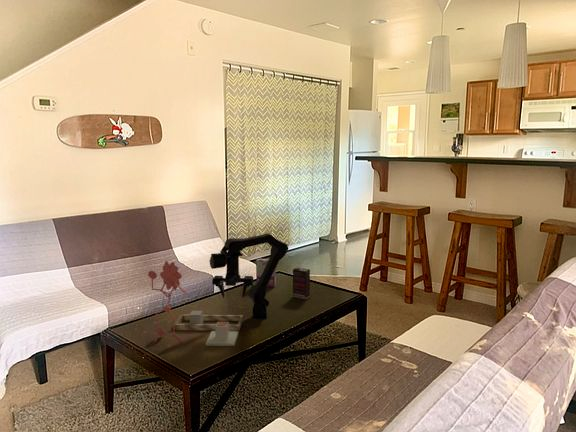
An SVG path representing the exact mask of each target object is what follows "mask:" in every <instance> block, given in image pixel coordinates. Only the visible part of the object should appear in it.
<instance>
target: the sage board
mask: <svg viewBox="0 0 576 432" xmlns="http://www.w3.org/2000/svg"><path fill="white" fill-rule="evenodd" d="M238 336H239V331H229V337H228V339H227V340H216V335H215V330H211V332H210V334H209V336H208V338H207V340H206V342H205V346H207V347H208V346H210V347H211V346H214V347H215V346H217V347H218V346H220V347H221V346H222V347H234V346H235V345H236V343H237V339H238Z"/></svg>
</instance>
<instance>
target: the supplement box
mask: <svg viewBox="0 0 576 432" xmlns="http://www.w3.org/2000/svg"><path fill="white" fill-rule="evenodd" d="M310 284H311V269H307V268H302V267H298V266H297V267H295V268H293V269H292V297H293V298H298V299H303V300H307V299H309V298H311V288H310V287H311V285H310Z"/></svg>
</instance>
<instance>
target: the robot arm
mask: <svg viewBox="0 0 576 432" xmlns="http://www.w3.org/2000/svg"><path fill="white" fill-rule="evenodd" d="M264 244H268V245H269V246H270V247H271V248H270V257H269V258H268V259H269V260H268V262H267V265H266V267H265V269H264V271H263V273H262V275H261V277H260V279H259V281H258V283H257V284H254V276H252V275H244V277H241V275H240V266H239V265H240V261H239V260H240V259H239V257H243V256H244V254H243V253H242V252H241V251H243V250H245V249H246V248H249V247H255V246H259V245H264ZM288 251H289V246H288V244H287V243H285V242H283V241H280V240H278V239H277V238H276V237H275V236H273V235H272V234H270V233H267V232H266V233H263V234H259V235H255V236H250V237H245V238H240V237H239V238H238V237H236V238H234V237H233V238H227V239H226V240H225V241H224V245H223V247H222V248H221V250H220V251H219V252H218V253H211V254H210V258H209V265H210V268H211V269H212V270H213V269H214V270H215V269H219V268H220V269H221V268H225V267H226V273H225V277H223V275H215V276H214V277H213V278H212V279H211V283H212V285H214V286H215V287H217V288H218V289H219V291H220V293H221V296H222V298H223V299H225V286H226V287H229V286H232V287H236V285H237V284H239V283H243V285H242V299H243V298H244V297H245V294H246V291H247V288H249V287H250V289H249V290H248V298H249V299H250V300H251V301H252V303H253V306H252V317H253V319H267V318H268V307H269V305H270V301H269V300H267V298H266V295H267V288H268V287H267V285H268V283H269V281H270V279H271V277H272V275H273V272H274V270H275V268H276V269H277V266H278V264H279V262H280V260H282V259H283V258H284V257H285V256H286V254H287V253H288Z"/></svg>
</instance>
